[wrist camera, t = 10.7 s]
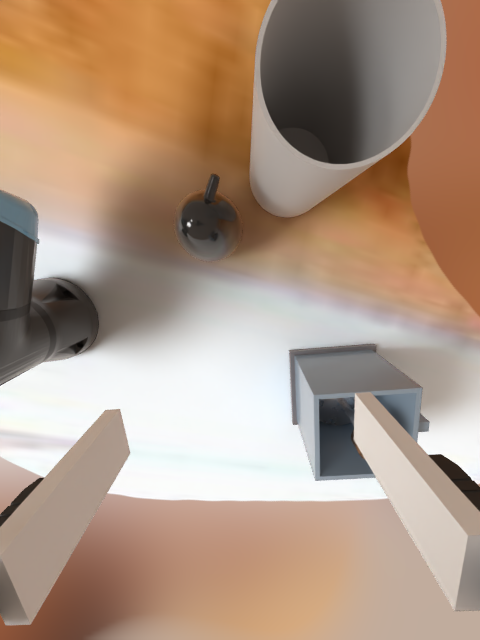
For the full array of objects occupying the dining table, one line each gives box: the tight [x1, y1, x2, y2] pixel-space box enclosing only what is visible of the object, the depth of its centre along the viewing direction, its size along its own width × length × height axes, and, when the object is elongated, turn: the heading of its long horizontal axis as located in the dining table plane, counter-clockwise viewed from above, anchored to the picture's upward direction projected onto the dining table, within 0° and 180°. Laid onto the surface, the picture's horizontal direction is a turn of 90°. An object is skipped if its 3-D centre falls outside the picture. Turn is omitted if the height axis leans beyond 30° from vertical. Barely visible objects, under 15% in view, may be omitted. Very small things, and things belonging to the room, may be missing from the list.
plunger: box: [319, 397, 365, 459], centre depth 40 cm, size 12×12×13 cm
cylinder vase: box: [249, 0, 446, 217], centre depth 29 cm, size 12×12×25 cm
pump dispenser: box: [174, 174, 243, 262], centre depth 36 cm, size 10×10×15 cm
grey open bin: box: [289, 344, 429, 481], centre depth 43 cm, size 18×16×15 cm
